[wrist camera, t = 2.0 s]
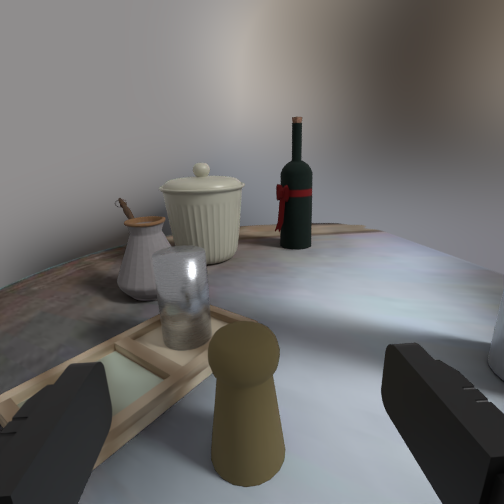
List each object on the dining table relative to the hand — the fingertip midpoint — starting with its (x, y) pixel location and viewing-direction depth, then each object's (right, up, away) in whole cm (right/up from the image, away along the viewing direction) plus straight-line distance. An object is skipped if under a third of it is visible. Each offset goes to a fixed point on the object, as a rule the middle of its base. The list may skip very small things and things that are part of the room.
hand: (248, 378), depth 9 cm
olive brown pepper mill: (0, -13, +17) cm, 21 cm away
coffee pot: (-20, -2, +51) cm, 55 cm away
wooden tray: (-11, -10, +26) cm, 30 cm away
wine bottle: (+10, +5, +71) cm, 72 cm away
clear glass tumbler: (-8, -7, +31) cm, 32 cm away
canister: (-10, +2, +64) cm, 65 cm away
